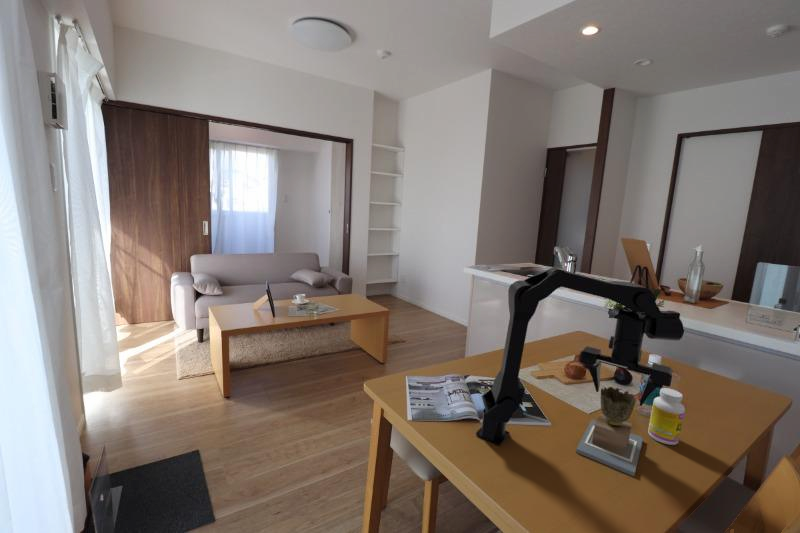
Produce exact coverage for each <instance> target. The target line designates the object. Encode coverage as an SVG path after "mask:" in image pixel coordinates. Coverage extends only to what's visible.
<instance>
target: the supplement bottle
mask: <svg viewBox="0 0 800 533" xmlns="http://www.w3.org/2000/svg"><path fill="white" fill-rule="evenodd" d="M682 401H683V394H682V393H681V392H679V391H678V390H675V389H672V388H669V387H663V388H660V390H659V396H657V397H655V398H654V399H653V402H652V408H651V413H650V417H649V425H648V430H647V431H648V432H647V433H648V434H649V436H650V437H651V438H652V439H653V440H655V441H656V442H659V443H661V444H663V445H664V444H665V445H668V446H670V445H671V446H674V445H677V444H679V443H680V442H679V441H680V438H681V433H682V426H683V421H684V416H685V411H686V408H685V406H684V405H683V403H681V402H682Z"/></svg>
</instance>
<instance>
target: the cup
mask: <svg viewBox="0 0 800 533" xmlns="http://www.w3.org/2000/svg"><path fill="white" fill-rule="evenodd" d="M636 402H637V398H636V397H635V395H634V394H633V393H629V391H628V390H626V391H624V392H622V391H620V389H619V388H618V387H616V388H614V387H611V386H609V387H608V388H607V387H606V386H605V387H602V388H600V410H601V413H602V414H604V416H605V417H606V418H605V420H606V423H607V424H609V425H610V426H613V427H621V426H622V422H627V421H628V420H629V419H630V418H631V416H632V413H633V410H634V408H635V404H636Z"/></svg>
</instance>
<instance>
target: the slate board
mask: <svg viewBox="0 0 800 533" xmlns="http://www.w3.org/2000/svg"><path fill="white" fill-rule="evenodd" d="M596 421H597V419H596V420H595V419H591V420H590V422H589V424H588V425H587V427H586V430H585V431H584V433H583V436H582V438H581V439H580V441H579V443H578V445H577V447H576V451H575V453H577V454H578V455H582V456H584V457H587V458H588V459H591V460H593V461H597V462H598V463H601V464H603V465H606V466H608V467H610V468H612V469H615V470H618V471H619V472H622V473H623V474H627V475H629V476H631V477H635V475H636V471H637V470H636V469H637V467H638V466H637V465H638V462H639V458H640V454H641V450H642V445H643V439H644V437H643V436H640V435H637V434H635V433H631V432H630V438H629V443H628V446H627V450H626V453H625V456H623V455H621V454H618V453H616V452H613V451H611V450H608V449H606V448H603V447H600V446H598V445H595V444H593V443H592V440H593V434H594V427H595V423H596Z"/></svg>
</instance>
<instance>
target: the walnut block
mask: <svg viewBox="0 0 800 533" xmlns="http://www.w3.org/2000/svg"><path fill="white" fill-rule="evenodd" d="M605 418H606V417H605V416H604V414H603V413H602V412H600V414H599V416H598V417H597V419H596V423H595V427H594V434H593V440H592V443H593V444H595V445H598V446H600V447H603V448H606V449H608V450H611V451H613V452H616V453H618V454H621V455H623V456H625V453H626V450H627V446H628V443H629V438H630V433H631V431H632V426H633V424H632V423H631V422H627V421H625V422H622V426H621V427H613V426H610V425H609V424H607V423H606V420H605Z"/></svg>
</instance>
